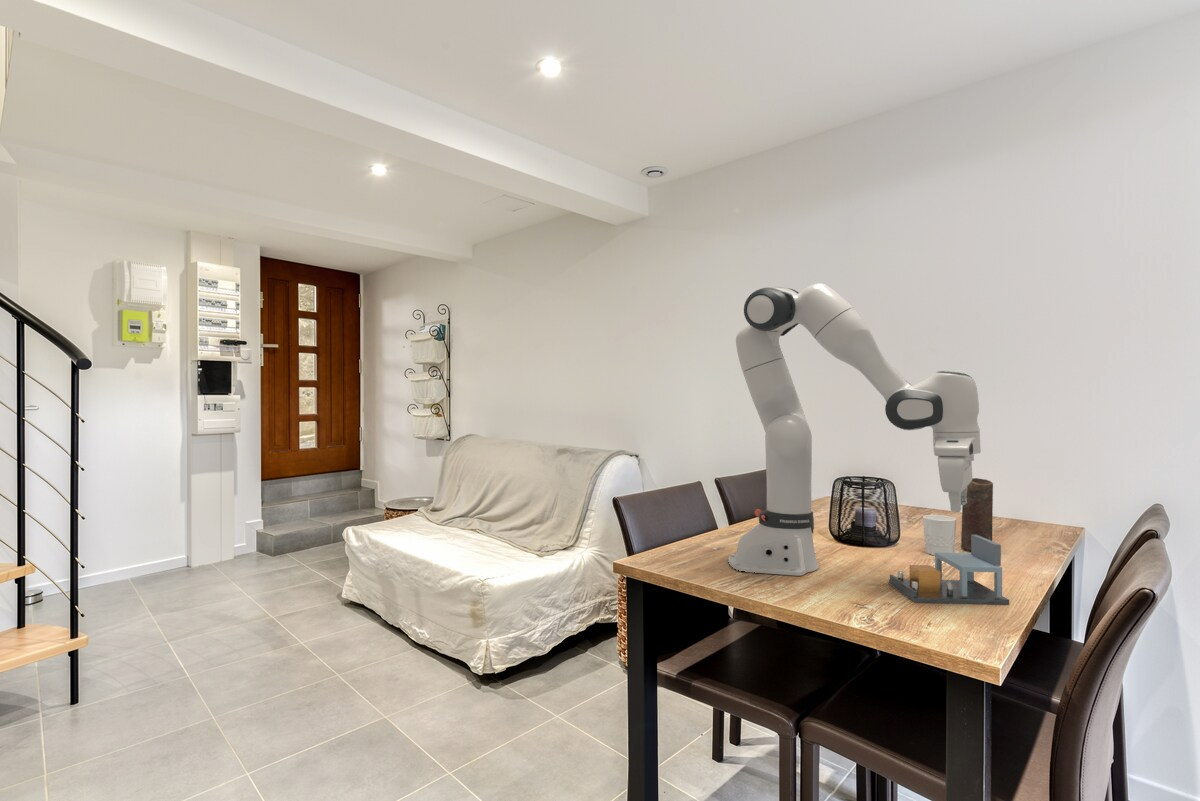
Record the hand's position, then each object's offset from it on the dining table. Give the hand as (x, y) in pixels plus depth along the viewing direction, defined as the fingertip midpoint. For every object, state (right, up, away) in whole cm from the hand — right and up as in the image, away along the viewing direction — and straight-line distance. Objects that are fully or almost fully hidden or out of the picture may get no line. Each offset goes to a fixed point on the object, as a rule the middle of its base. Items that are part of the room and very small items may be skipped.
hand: (958, 507), depth 128 cm
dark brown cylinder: (+27, -19, +36) cm, 49 cm away
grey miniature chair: (+2, -18, 0) cm, 18 cm away
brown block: (-7, -18, +1) cm, 19 cm away
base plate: (-2, -19, +1) cm, 19 cm away
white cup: (+15, -19, +33) cm, 41 cm away
